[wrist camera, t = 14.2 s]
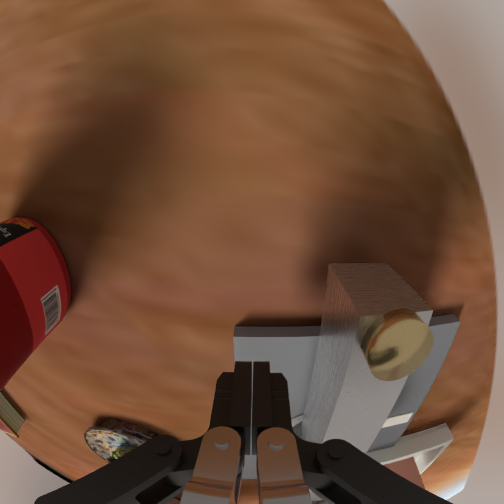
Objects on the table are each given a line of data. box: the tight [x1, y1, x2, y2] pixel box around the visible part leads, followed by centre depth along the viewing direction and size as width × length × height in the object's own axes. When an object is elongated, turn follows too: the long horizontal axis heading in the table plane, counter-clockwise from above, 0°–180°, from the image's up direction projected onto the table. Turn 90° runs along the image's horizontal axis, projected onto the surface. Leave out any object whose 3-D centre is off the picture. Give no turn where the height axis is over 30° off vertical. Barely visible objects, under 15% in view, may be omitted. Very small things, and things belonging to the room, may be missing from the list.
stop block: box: [384, 457, 425, 489], centre depth 18 cm, size 4×4×8 cm
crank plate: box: [233, 314, 461, 479], centre depth 18 cm, size 20×15×1 cm
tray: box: [366, 423, 454, 474], centre depth 21 cm, size 11×11×3 cm
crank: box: [293, 263, 434, 501], centre depth 13 cm, size 17×5×6 cm, turn 0°
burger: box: [84, 418, 159, 463], centre depth 19 cm, size 12×12×8 cm
